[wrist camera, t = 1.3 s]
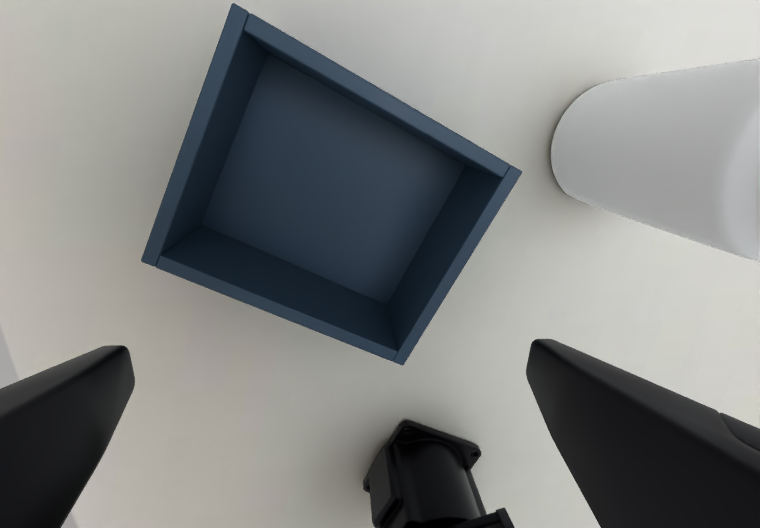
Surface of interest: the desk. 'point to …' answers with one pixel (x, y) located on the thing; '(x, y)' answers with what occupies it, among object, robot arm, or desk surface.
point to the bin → (321, 194)
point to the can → (670, 152)
